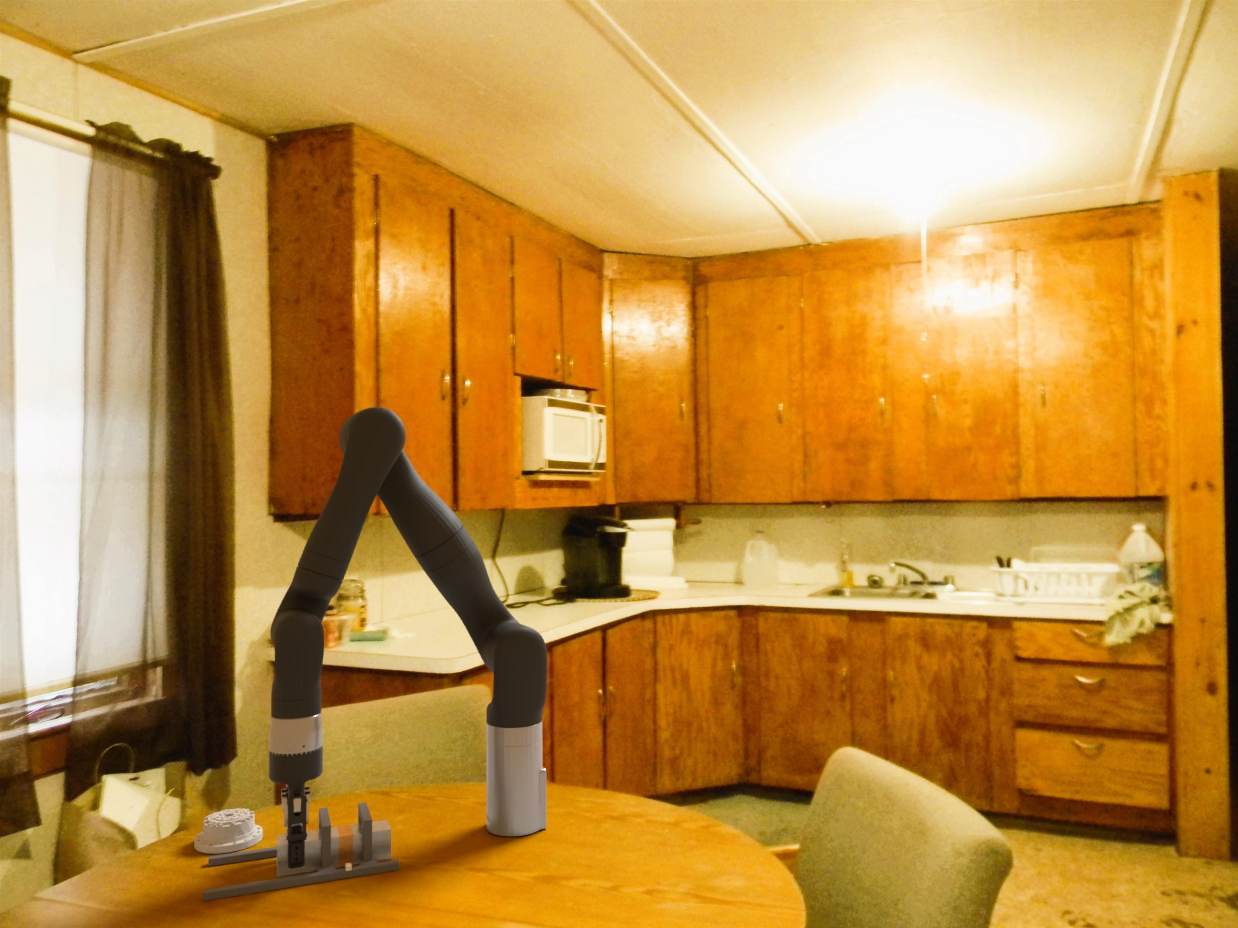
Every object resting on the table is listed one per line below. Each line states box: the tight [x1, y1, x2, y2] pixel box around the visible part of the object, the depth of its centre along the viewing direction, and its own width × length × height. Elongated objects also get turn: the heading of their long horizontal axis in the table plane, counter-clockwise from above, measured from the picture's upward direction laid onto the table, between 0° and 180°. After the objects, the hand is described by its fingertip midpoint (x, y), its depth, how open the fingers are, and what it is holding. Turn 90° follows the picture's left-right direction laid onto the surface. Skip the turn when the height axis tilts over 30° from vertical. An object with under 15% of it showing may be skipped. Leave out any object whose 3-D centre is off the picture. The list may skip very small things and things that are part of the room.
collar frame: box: [202, 801, 400, 902], centre depth 130 cm, size 26×14×7 cm, turn 112°
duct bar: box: [276, 819, 392, 878], centre depth 131 cm, size 16×4×4 cm, turn 112°
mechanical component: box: [193, 807, 264, 855], centre depth 140 cm, size 10×4×10 cm
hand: (295, 856), depth 129 cm, fingers open, 8 cm apart
